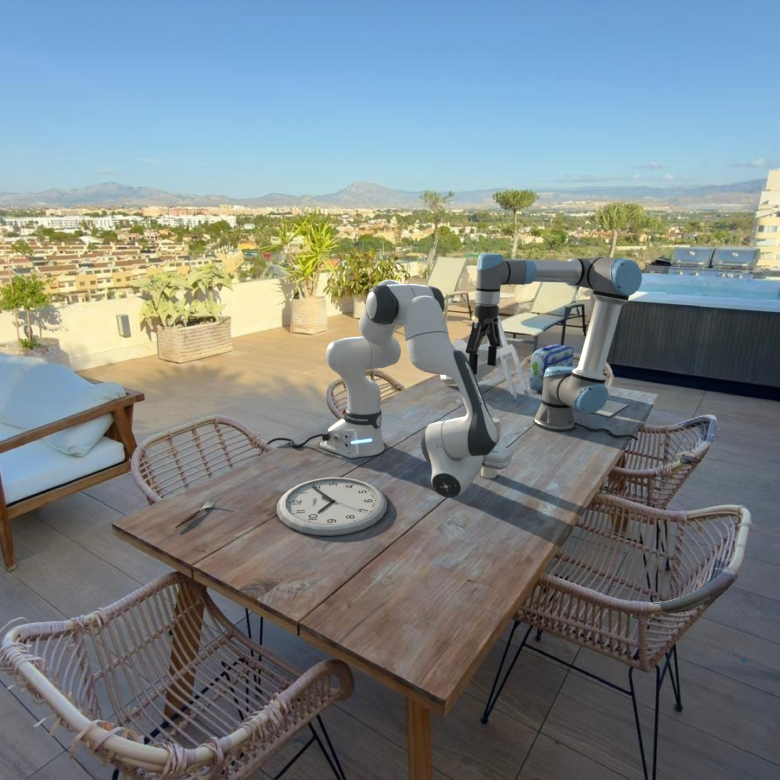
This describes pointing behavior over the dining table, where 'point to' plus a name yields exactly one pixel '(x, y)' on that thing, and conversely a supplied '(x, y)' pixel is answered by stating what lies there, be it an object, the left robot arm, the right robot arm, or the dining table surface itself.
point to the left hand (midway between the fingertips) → (480, 441)
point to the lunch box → (548, 363)
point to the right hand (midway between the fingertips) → (482, 369)
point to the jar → (489, 471)
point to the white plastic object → (501, 357)
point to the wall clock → (331, 506)
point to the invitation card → (610, 408)
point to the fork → (206, 505)
